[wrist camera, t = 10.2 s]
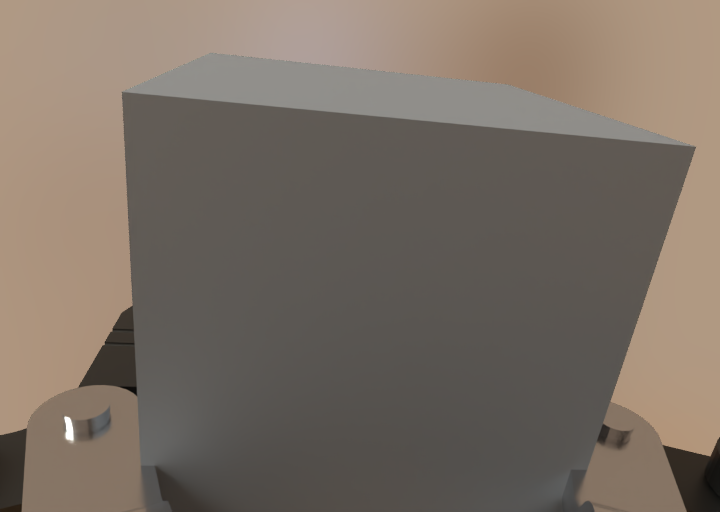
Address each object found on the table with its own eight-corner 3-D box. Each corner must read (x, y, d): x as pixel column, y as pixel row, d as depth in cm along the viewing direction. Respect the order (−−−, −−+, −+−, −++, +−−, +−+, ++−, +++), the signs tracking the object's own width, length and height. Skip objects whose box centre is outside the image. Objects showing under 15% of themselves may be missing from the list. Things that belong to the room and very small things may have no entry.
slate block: (207, 571, 14) (212, 52, 9) (408, 568, 14) (504, 83, 10) (160, 865, 9) (122, 91, 4) (462, 839, 10) (695, 146, 5)
